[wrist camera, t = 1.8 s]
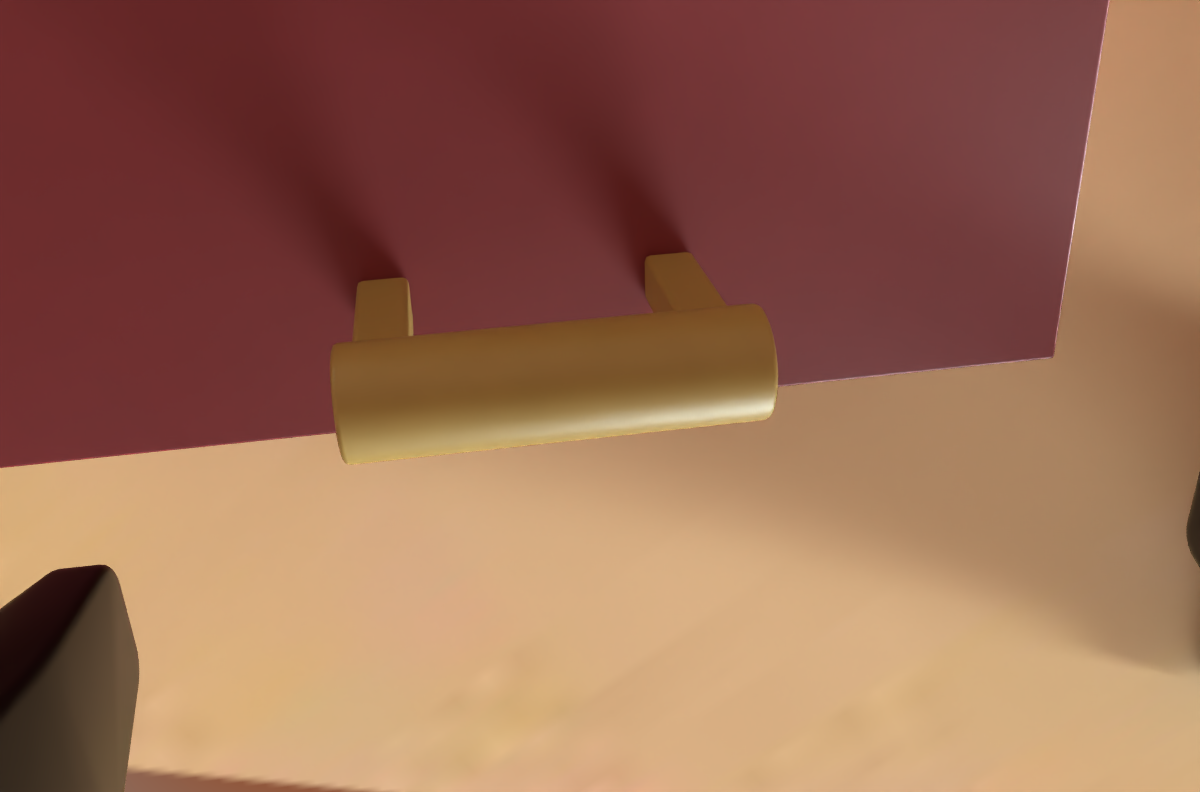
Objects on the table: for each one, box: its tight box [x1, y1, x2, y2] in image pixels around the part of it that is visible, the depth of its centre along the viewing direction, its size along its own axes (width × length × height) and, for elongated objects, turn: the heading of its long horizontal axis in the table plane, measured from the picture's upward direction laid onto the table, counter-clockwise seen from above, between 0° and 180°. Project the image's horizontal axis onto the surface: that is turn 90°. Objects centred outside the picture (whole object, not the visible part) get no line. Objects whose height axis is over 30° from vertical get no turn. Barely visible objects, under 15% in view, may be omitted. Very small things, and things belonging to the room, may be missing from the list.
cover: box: [0, 0, 1110, 468], centre depth 13 cm, size 11×16×4 cm
